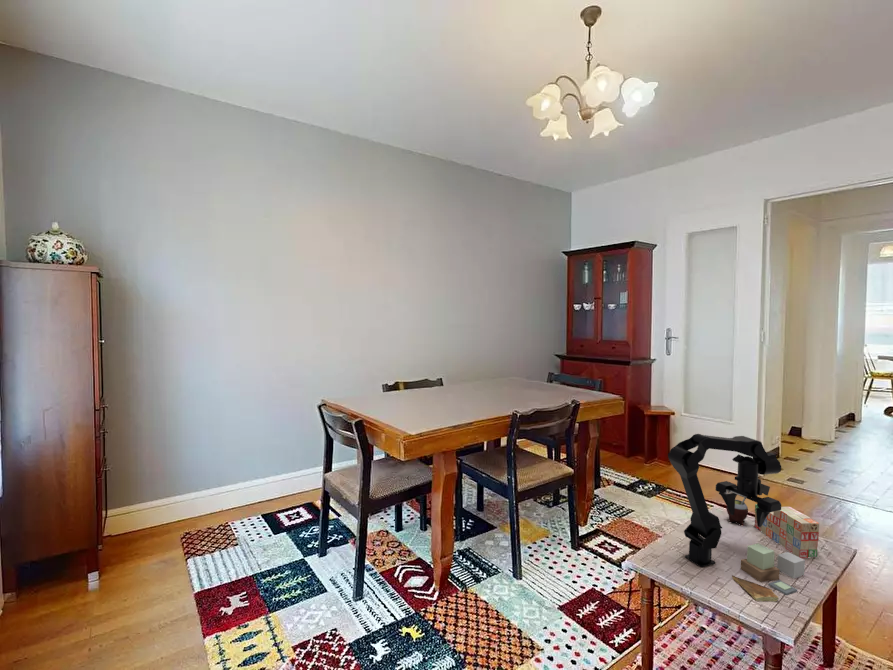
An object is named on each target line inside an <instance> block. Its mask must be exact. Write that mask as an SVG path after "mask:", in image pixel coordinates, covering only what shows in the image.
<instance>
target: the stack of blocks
mask: <svg viewBox="0 0 893 670" xmlns="http://www.w3.org/2000/svg"><path fill="white" fill-rule="evenodd" d="M756 508H759V507H758V506H757V503H755V505H754V528H755V527H756V529H757V530H758V529H759V530H758V531H760V532H761V531H762V532H763V533H762V532H761V533H762V534H764V535H765V534H766V535H765V536H767V537H769V539H771V540H773V541H774V542H776V543H777V544H778V543H779V544H778V545H780V546H781V545H782V546H781V547H783V548H784V549H786V550H787V551H788V550H789V551H788V552H789V553H791V552H792V553H791V554H793V555H794V554H795V556H798V557H800V558H802V559H809V558H808V557H817V558H818V546H819V533H820V532H819V531H820V522H818V521H817V520H815V519H814V518H811V517H810V516H808V515H806V514H805V513H802V512H800V511H798V510H797V509H795V508H793V507H791V506H781V510H778V511H774V512H770V513H769V514H768V516H767V517H766V519H765V521H764V522H763V524H762V526H761V527H758V525H757V514H756Z"/></svg>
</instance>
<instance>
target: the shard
mask: <svg viewBox="0 0 893 670" xmlns="http://www.w3.org/2000/svg"><path fill="white" fill-rule="evenodd" d="M731 577H732V580H733V581H734V582H735V583H737V584H738V585H739V586H741V588H742V589H743V590H745V591H746V593H748V594H749V595H750V596H751V597H752V598H753V600H755V601H756V602H777V601H778V600H779V595H777V594H776V593H775V592H773V589H771V588H769V587H766V586H765V585H761V584H758V583H756V582H753V581H750V580H747V579H743V578H741V577H739V576H735V575H733V574H732V575H731Z"/></svg>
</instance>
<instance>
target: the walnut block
mask: <svg viewBox="0 0 893 670" xmlns="http://www.w3.org/2000/svg"><path fill="white" fill-rule="evenodd" d="M740 570H741V571H743V572H744V573H745V574H747V575H749V576H750V577H752V578H754V579H755V580H756V581H757V582H759V583H764V582H771V581H772V582H773V581H777V580H780V571H779V569H778V568H777V566H775V565H774V567H771V568H768V569H765V570H762V569H760V568H758V567H756V566H755V565H753V564H751V563H749V562H747V558H742V559H740Z"/></svg>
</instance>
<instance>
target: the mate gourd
mask: <svg viewBox="0 0 893 670" xmlns="http://www.w3.org/2000/svg"><path fill="white" fill-rule="evenodd" d="M746 499H747V498H744V497H743V499H742V500H739V499H735V512H734V515H731V514H730V512H729V509H728V507H727V506H726V512H727V514H728V518H729V520H728V523H729V522H737V523H736V524H738V525H739V524H740V526H741V525H743V526H744V524H743V523H745V520H746V518H747V517H748V514H749V509H748V508H749V507H748V505H747V504H746V503H745V501H746Z"/></svg>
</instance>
